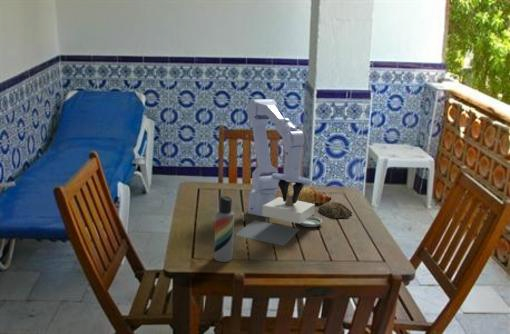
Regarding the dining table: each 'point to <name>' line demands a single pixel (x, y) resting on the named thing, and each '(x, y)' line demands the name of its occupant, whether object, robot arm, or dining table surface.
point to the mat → (268, 232)
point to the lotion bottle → (224, 230)
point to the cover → (288, 209)
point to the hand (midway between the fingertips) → (289, 201)
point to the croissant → (311, 196)
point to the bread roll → (335, 210)
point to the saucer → (311, 222)
